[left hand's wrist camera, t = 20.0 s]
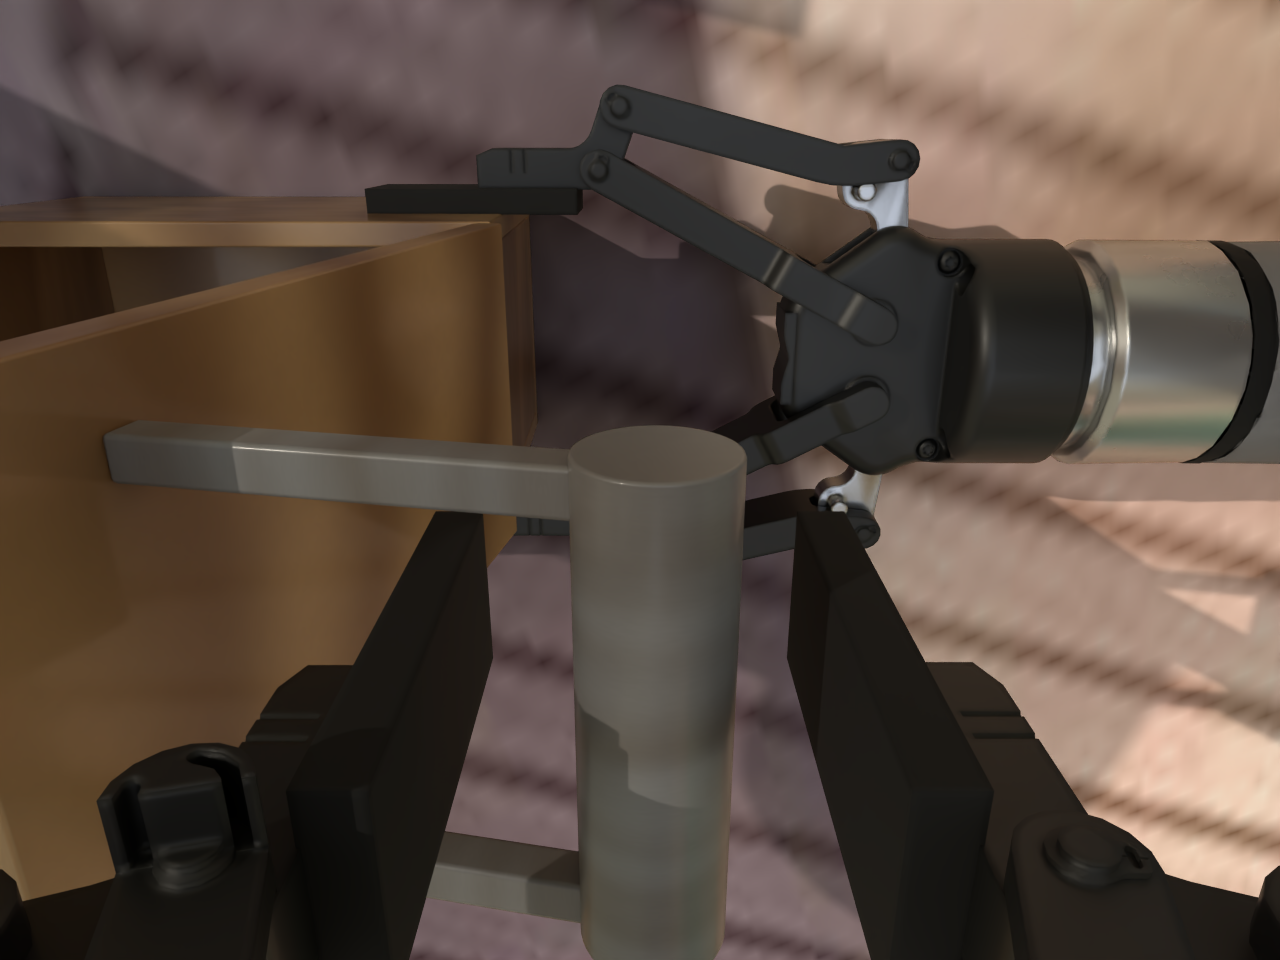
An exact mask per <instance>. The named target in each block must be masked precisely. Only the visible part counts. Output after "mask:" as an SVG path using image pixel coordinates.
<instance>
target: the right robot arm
mask: <svg viewBox="0 0 1280 960" xmlns="http://www.w3.org/2000/svg"><path fill="white" fill-rule="evenodd" d="M633 133H637V134H641V135H645V136H648V137H652V138H656V139H659V140H663V141H667V142H670V143H674V144H678V145H682V146H685V147H689V148H693V149H696V150H700V151H704V152H708V153H711V154H715V155H719V156H722V157H726V158H730V159H733V160H737V161H741V162H745V163H748V164H752V165H756V166H759V167H763V168H767V169H770V170H774V171H778V172H782V173H785V174H789V175H793V176H796V177H800V178H804V179H808V180H811V181H815V182H819V183H824V184H829V185H837V192H838V197H839V199H840V201H841V202H842V203H843V204H844V205H846V206H848V207H850V208H853V209H857V210H862V211H864V212H865V213H866V214H867V215H868V217H869V219H870V223H871V228H869V229H868V230H866V231H865V232H863V233H862V234H860V235H859V236H857V237H856V238H855V239H853V240H852V241H850V242H849V243H848V244H846V245H845V246H843V247H842V248H840V249H839V250H838V251H836V252H835V253H833V254H832V255H830V256H829V257H828V258H826V259H825V260H823V261H822V262H820V263H819V264H818V265H816V264H814V263H812V262H810V261H809V260H807V259H805V258H803V257H801V256H800V255H798V254H796V253H794V252H792V251H791V250H789V249H787V248H785V247H784V246H782V245H780V244H778V243H776V242H774V241H772V240H770V239H768V238H766V237H765V236H763V235H761V234H759V233H757V232H756V231H754V230H752V229H750V228H749V227H747V226H745V225H743V224H741V223H740V222H738V221H736V220H734V219H732V218H731V217H729V216H727V215H725V214H723V213H722V212H720V211H718V210H716V209H715V208H713V207H711V206H709V205H707V204H706V203H704V202H702V201H700V200H698V199H697V198H695V197H693V196H691V195H690V194H688V193H686V192H684V191H682V190H681V189H679V188H677V187H675V186H673V185H672V184H670V183H668V182H666V181H664V180H663V179H661V178H659V177H657V176H656V175H654V174H652V173H650V172H648V171H647V170H645V169H643V168H641V167H639V166H638V165H636V164H634V163H632V162H630V161H629V160H627V159H625V155H626V152H627V149H628V146H629V143H630V140H631V137H632V134H633ZM476 159H477V175H478V184H387V185H382V186H377V187H372V188H367V189H365V196H366V206H367V214H501V215H577V214H578V213H579V212H580V211H581V210H582V208H583V190H594V191H595V192H597V193H599V194H601V195H603V196H604V197H606V198H608V199H610V200H612V201H614V202H615V203H617V204H619V205H621V206H623V207H624V208H626V209H628V210H630V211H632V212H634V213H635V214H637V215H639V216H641V217H643V218H645V219H646V220H648V221H650V222H652V223H654V224H655V225H657V226H659V227H661V228H663V229H665V230H666V231H668V232H670V233H672V234H674V235H675V236H677V237H679V238H681V239H683V240H685V241H686V242H688V243H690V244H692V245H694V246H696V247H697V248H699V249H701V250H703V251H705V252H706V253H708V254H710V255H712V256H714V257H716V258H717V259H719V260H721V261H723V262H725V263H726V264H728V265H730V266H732V267H734V268H736V269H737V270H739V271H741V272H743V273H745V274H747V275H748V276H750V277H752V278H754V279H756V280H757V281H759V282H761V283H763V284H764V285H766V286H767V287H769V288H770V289H772V290H773V291H775V292H777V293H779V294H780V295H782V296H783V297H782V300H781V302H777V310H776V327H777V332H778V337H779V341H780V350H779V353H778V356H777V359H776V362H775V365H774V368H773V385H772V389H773V391H774V393H775V396H773V397H771V398H769V399H767V400H765V401H763V402H761V403H759V404H757V405H756V406H754V407H753V408H752V409H751V410H750V411H749V412H748V413H747V414H746V415H744V416H742V417H740V418H738V419H736V420H734V421H732V422H730V423H728V424H726V425H724V426H722V427H720V428H718V429H716V430H714V431H712V433H716V434H719V435H722V436H725V437H727V438H729V439H731V440H733V441H735V442H736V443H738V444H739V445H740V446H741V447H742V448H743V449H744V450H745V453H746V456H747V472H746V475H748V474H750V473H752V472H754V471H756V470H758V469H760V468H762V467H764V466H767V465H770V464H782V463H785V462H787V461H789V460H791V459H794V458H796V457H798V456H800V455H802V454H804V453H806V452H808V451H810V450H812V449H814V448H816V447H818V446H821V445H822V446H823V447H824V448H826V449H827V450H829V451H830V452H831V453H833V454H834V455H836V456H837V457H838V458H840V459H841V460H842V461H844V462H845V463H847V464H848V465H849V466H848V468H847V469H846V471H845V472H843V473H842V474H841V475H839V476H836V477H830V478H826V479H823V480H822V481H820V482H819V483H818V485H817V486H816V488H815V489H801V490H792V491H787V492H782V493H777V494H773V495H769V496H764V497H760V498H755V499H751V500H747V501H745V514H744V535H743V556H742V560H746V559H750V558H755V557H759V556H764V555H768V554H773V553H777V552H782V551H786V550H791V549H794V548H795V534H796V519H797V511H844V512H845V513H846V515H847V517H848V519H849V521H850V523H851V525H852V526H853V528H854V530H855V532H856V534H857V536H858V538H859V539H860V541H861V543H862V545H863V547H864V548H869V547H871V546H873V545H874V544H875V543H876V542H877V541H878V539H879V537H880V527H879V525H878V523H877V522H876V520H875V518H874V510H875V506H876V501H877V496H878V492H879V487H880V482H881V478H882V474H885V473H888V472H891V471H892V470H894V469H896V468H898V467H901V466H903V465H906V464H909V463H913V462H938V463H1037V462H1040V461H1043V460H1045V459H1046V458H1047V457H1049V456H1050V455H1051V456H1052V457H1053V458H1054V459H1055V460H1057V461H1059V462H1063V463H1067V464H1091V463H1164V462H1179V463H1202V462H1204V463H1260V464H1280V241H1263V242H1224V241H1203V240H1196V241H1178V240H1077V241H1075V242H1072V243H1070V244H1068V245H1066V246H1065V247H1063V246H1062V245H1060V244H1059V243H1058V242H1056V241H1053V240H1049V239H934V238H928V237H925V236H923V235H921V234H920V233H918V232H917V231H915V230H913V229H911V228H909V227H908V178H910V177H911V176H912V175H913V174H914V173H915V172H916V170H917V168H918V167H919V162H920V155H919V150H918V149H917V147H916V146H915V145H914V144H913V143H911V142H910V141H908V140H895V139H877V140H868V141H858V142H849V143H840V144H837V143H833V142H829V141H826V140H822V139H819V138H815V137H811V136H808V135H804V134H800V133H797V132H793V131H789V130H786V129H782V128H778V127H775V126H771V125H767V124H764V123H760V122H757V121H753V120H749V119H746V118H742V117H738V116H735V115H731V114H727V113H724V112H720V111H716V110H713V109H709V108H705V107H702V106H698V105H695V104H691V103H687V102H684V101H680V100H676V99H673V98H669V97H665V96H662V95H658V94H654V93H651V92H647V91H643V90H640V89H636V88H633V87H629V86H625V85H615V86H612V87H610V88H608V89H607V90H606V91H605V92H604V93H603V95H602V98H601V100H600V105H599V108H598V111H597V114H596V118H595V121H594V124H593V127H592V130H591V132H590V134H589V137H588V138H587V139H586V140H585V142H583V143H582V144H581V145H579V146H577V147H574V148H493V149H490V150H488V151H485V152H483V153H481V154H478V155H476ZM516 523H517V531H516V532H515V534H514V535H570V528H569V521H564V520H552V519H540V518H528V517H516Z"/></svg>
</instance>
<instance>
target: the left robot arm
mask: <svg viewBox="0 0 1280 960" xmlns="http://www.w3.org/2000/svg"><path fill="white" fill-rule="evenodd" d="M492 660H493V651H492V636H491V622H490V607H489V592H488V578H487V563H486V548H485V534H484V519H483V514H480V513H468V512H456V511H436V512H435V513H434V515H433V517H432V519H431V521H430V523H429V525H428V526H427V528H426V530H425V532H424V534H423V536H422V538H421V539H420V541H419V543H418V545H417V547H416V549H415V551H414V553H413V554H412V556H411V558H410V560H409V562H408V564H407V566H406V567H405V569H404V571H403V573H402V575H401V577H400V579H399V580H398V582H397V584H396V586H395V588H394V590H393V592H392V594H391V595H390V597H389V599H388V601H387V603H386V605H385V607H384V608H383V610H382V612H381V614H380V616H379V618H378V620H377V621H376V623H375V625H374V627H373V629H372V631H371V633H370V635H369V636H368V638H367V640H366V642H365V644H364V646H363V648H362V649H361V651H360V653H359V655H358V657H357V659H356V661H355V662H354V664H353V665H307V666H306V667H305V668H303V669H302V670H301V671H299V672H298V673H297V674H295V675H294V676H292V677H291V678H290V679H288V680H287V681H286V682H284V683H283V684H282V685H280V686H279V687H278V688H277V689H276V691H275V692H274V694H273V695H272V697H271V698H270V700H269V701H268V703H267V704H266V706H265V707H264V709H263V710H262V712H261V714H260V719H259V720H256V721H255V723H254V724H253V726H252V727H251V729H250V730H249V732H248V734H247V735H246V741H245V742H242V743H241V744H240V746H239V747H234V746H230V745H227V744H223V743H192V744H188V745H184V746H180V747H176V748H172V749H168V750H164V751H161V752H159V753H157V754H154V755H152V756H150V757H148V758H146V759H144V760H141V761H139V762H137V763H135V764H133V765H132V766H130V767H129V768H128V769H126V770H125V771H124V772H123V773H121V774H120V775H119V776H117V777H116V778H115V779H113V780H112V781H111V782H110V783H109V784H108V786H107V787H106V788H105V790H104V791H103V793H102V794H101V795H100V797H99V798H98V799H97V801H96V802H97V806H98V809H99V813H100V817H101V820H102V824H103V828H104V832H105V835H106V839H107V843H108V846H109V850H110V854H111V857H112V861H113V865H114V868H115V872H116V874H115V877H114V878H112V879H109V880H106V881H102V882H99V883H96V884H93V885H89V886H85V887H81V888H77V889H72V890H68V891H64V892H60V893H55V894H51V895H47V896H43V897H38V898H34V899H30V900H26V901H22V898H21V895H20V892H19V889H18V886H17V882H16V881H15V880H14V879H13V878H12V877H11V876H9V875H8V874H7V873H6V872H5V871H4V870H2V869H0V960H409V957H410V954H411V950H412V947H413V943H414V940H415V936H416V932H417V929H418V925H419V922H420V918H421V914H422V911H423V907H424V904H425V900H426V896H427V893H428V889H429V886H430V882H431V879H432V875H433V871H434V868H435V864H436V861H437V857H438V853H439V850H440V846H441V843H442V839H443V835H444V832H445V828H446V825H447V821H448V818H449V814H450V810H451V807H452V803H453V800H454V796H455V792H456V789H457V785H458V782H459V778H460V774H461V771H462V767H463V764H464V760H465V757H466V753H467V749H468V746H469V742H470V739H471V735H472V731H473V728H474V724H475V721H476V717H477V713H478V710H479V706H480V703H481V699H482V696H483V692H484V688H485V685H486V681H487V678H488V674H489V670H490V667H491V663H492ZM787 660H788V663H789V667H790V670H791V674H792V678H793V681H794V685H795V688H796V692H797V696H798V699H799V703H800V706H801V710H802V713H803V717H804V721H805V724H806V728H807V731H808V735H809V739H810V742H811V746H812V749H813V753H814V757H815V760H816V764H817V767H818V771H819V774H820V778H821V782H822V785H823V789H824V792H825V796H826V800H827V803H828V807H829V810H830V814H831V818H832V821H833V825H834V828H835V832H836V835H837V839H838V843H839V846H840V850H841V853H842V857H843V861H844V864H845V868H846V871H847V875H848V879H849V882H850V886H851V889H852V893H853V896H854V900H855V904H856V907H857V911H858V914H859V918H860V922H861V925H862V929H863V932H864V936H865V940H866V943H867V947H868V950H869V954H870V957H871V960H1280V866H1278V867H1277V868H1276V869H1274V870H1273V871H1272V872H1271V873H1270V874H1269V875H1267V876H1266V877H1265V879H1264V882H1263V886H1262V889H1261V892H1260V895H1259V898H1258V897H1253V896H1249V895H1245V894H1241V893H1236V892H1232V891H1228V890H1224V889H1219V888H1215V887H1211V886H1206V885H1202V884H1198V883H1194V882H1190V881H1186V880H1183V879H1180V878H1177V877H1173V876H1170V875H1167V874H1165V873H1164V871H1163V869H1162V868H1161V866H1160V865H1159V863H1158V861H1157V860H1156V858H1155V857H1154V855H1153V853H1152V852H1151V851H1150V850H1149V849H1148V848H1147V847H1145V846H1144V845H1143V844H1142V843H1141V842H1139V841H1138V840H1137V839H1136V838H1135V837H1134V836H1132V835H1131V834H1130V833H1129V832H1127V831H1125V830H1123V829H1121V828H1119V827H1117V826H1115V825H1113V824H1111V823H1109V822H1108V821H1106V820H1104V819H1101V818H1098V817H1094V816H1091V815H1088V814H1087V812H1086V811H1085V809H1084V808H1083V806H1082V805H1081V803H1080V801H1079V800H1078V798H1077V797H1076V795H1075V794H1074V792H1073V791H1072V789H1071V788H1070V786H1069V785H1068V783H1067V782H1066V780H1065V779H1064V777H1063V776H1062V774H1061V772H1060V771H1059V769H1058V768H1057V766H1056V765H1055V763H1054V762H1053V760H1052V759H1051V757H1050V756H1049V754H1048V753H1047V751H1046V750H1045V748H1044V747H1043V745H1042V743H1041V742H1040V740H1039V739H1035V733H1034V731H1033V730H1032V728H1031V727H1030V725H1029V724H1028V722H1027V721H1026V719H1025V717H1021V714H1020V710H1019V708H1018V707H1017V705H1016V704H1015V702H1014V701H1013V699H1012V698H1011V696H1010V695H1009V693H1008V692H1007V690H1006V688H1005V687H1004V685H1003V684H1001V683H1000V682H998V681H997V680H996V679H994V678H993V677H992V676H990V675H989V674H988V673H986V672H985V671H984V670H982V669H981V668H980V667H978V666H977V665H975V664H974V663H973V662H925V661H924V659H923V657H922V655H921V653H920V651H919V649H918V648H917V646H916V644H915V642H914V640H913V638H912V636H911V635H910V633H909V631H908V629H907V627H906V625H905V623H904V621H903V620H902V618H901V616H900V614H899V612H898V610H897V608H896V607H895V605H894V603H893V601H892V599H891V597H890V595H889V594H888V592H887V590H886V588H885V586H884V584H883V582H882V580H881V579H880V577H879V575H878V573H877V571H876V569H875V567H874V566H873V564H872V562H871V560H870V558H869V556H868V554H867V553H866V551H865V549H864V547H863V545H862V543H861V541H860V539H859V538H858V536H857V534H856V532H855V530H854V528H853V526H852V525H851V523H850V521H849V519H848V517H847V515H846V513H845V512H844V511H797V519H796V534H795V548H794V563H793V578H792V592H791V607H790V622H789V636H788V651H787Z"/></svg>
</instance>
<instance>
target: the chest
mask: <svg viewBox="0 0 1280 960" xmlns="http://www.w3.org/2000/svg"><path fill="white" fill-rule="evenodd" d="M474 223H499V224H501V230H502V249H503V269H504V288H505V308H506V328H507V347H508V367H509V386H510V406H511V425H512V445H513V446H526V447H530V446H531V443H532V439H533V436H534V433H535V430H536V426H537V423H538V421H537V396H536V372H535V347H534V322H533V297H532V272H531V247H530V222H529V215H501V214H367V206H366V197H126V196H84V197H76V198H66V199H58V200H49V201H40V202H32V203H23V204H15V205H6V206H0V341H4V340H8V339H12V338H16V337H20V336H24V335H28V334H32V333H36V332H40V331H45V330H49V329H53V328H57V327H61V326H65V325H69V324H73V323H77V322H81V321H85V320H89V319H93V318H97V317H101V316H105V315H109V314H113V313H117V312H121V311H125V310H129V309H133V308H137V307H141V306H145V305H149V304H153V303H157V302H161V301H165V300H169V299H173V298H177V297H181V296H185V295H189V294H193V293H197V292H201V291H205V290H209V289H213V288H217V287H221V286H225V285H229V284H233V283H237V282H241V281H245V280H249V279H253V278H257V277H261V276H265V275H269V274H273V273H277V272H281V271H285V270H289V269H293V268H297V267H301V266H305V265H309V264H313V263H317V262H321V261H325V260H329V259H333V258H337V257H341V256H345V255H349V254H353V253H357V252H362V251H366V250H370V249H374V248H378V247H382V246H386V245H390V244H394V243H398V242H402V241H406V240H410V239H414V238H418V237H422V236H426V235H430V234H434V233H438V232H442V231H446V230H450V229H454V228H458V227H462V226H466V225H470V224H474Z"/></svg>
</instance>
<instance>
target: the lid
mask: <svg viewBox="0 0 1280 960" xmlns="http://www.w3.org/2000/svg"><path fill="white" fill-rule="evenodd" d="M746 472H747V456H746V453H745V450H744V449H743V448H742V447H741V446H740V445H739V444H738V443H736V442H735V441H733V440H731V439H729V438H727V437H725V436H722V435H719V434H716V433H712V432H709V431H705V430H700V429H694V428H688V427H679V426H663V425H648V426H631V427H623V428H617V429H611V430H607V431H603V432H599V433H596V434H593V435H590V436H587V437H585V438H583V439H581V440H580V441H578V442H576V443H575V444H574V445H573V446H572V447H571V449H570V450H569V449H555V448H540V447H526V446H513V445H512V425H511V406H510V386H509V367H508V347H507V328H506V308H505V288H504V269H503V249H502V230H501V224H499V223H474V224H470V225H466V226H462V227H458V228H454V229H450V230H446V231H442V232H438V233H434V234H430V235H426V236H422V237H418V238H414V239H410V240H406V241H402V242H398V243H394V244H390V245H386V246H382V247H378V248H374V249H370V250H366V251H362V252H357V253H353V254H349V255H345V256H341V257H337V258H333V259H329V260H325V261H321V262H317V263H313V264H309V265H305V266H301V267H297V268H293V269H289V270H285V271H281V272H277V273H273V274H269V275H265V276H261V277H257V278H253V279H249V280H245V281H241V282H237V283H233V284H229V285H225V286H221V287H217V288H213V289H209V290H205V291H201V292H197V293H193V294H189V295H185V296H181V297H177V298H173V299H169V300H165V301H161V302H157V303H153V304H149V305H145V306H141V307H137V308H133V309H129V310H125V311H121V312H117V313H113V314H109V315H105V316H101V317H97V318H93V319H89V320H85V321H81V322H77V323H73V324H69V325H65V326H61V327H57V328H53V329H49V330H45V331H40V332H36V333H32V334H28V335H24V336H20V337H16V338H12V339H8V340H4V341H0V869H2V870H4V871H5V872H6V873H7V874H8V875H9V876H11V877H12V878H13V879H14V880H15V881H16V882H17V886H18V889H19V892H20V895H21V898H22V901H26V900H30V899H34V898H38V897H43V896H47V895H51V894H55V893H60V892H64V891H68V890H72V889H77V888H81V887H85V886H89V885H93V884H96V883H99V882H102V881H106V880H109V879H112V878H114V877H115V874H116V872H115V868H114V865H113V861H112V857H111V854H110V850H109V846H108V843H107V839H106V835H105V832H104V828H103V824H102V820H101V817H100V813H99V809H98V806H97V802H96V801H97V799H98V798H99V797H100V795H101V794H102V793H103V791H104V790H105V788H106V787H107V786H108V784H109V783H110V782H111V781H112V780H113V779H115V778H116V777H117V776H119V775H120V774H121V773H123V772H124V771H125V770H126V769H128V768H129V767H130V766H132V765H133V764H135V763H137V762H139V761H141V760H144V759H146V758H148V757H150V756H152V755H154V754H157V753H159V752H161V751H164V750H168V749H172V748H176V747H180V746H184V745H188V744H192V743H223V744H227V745H230V746H234V747H239V746H240V744H241V743H242V742H245V741H246V735H247V734H248V732H249V730H250V729H251V727H252V726H253V724H254V723H255V721H256V720H259V719H260V714H261V712H262V710H263V709H264V707H265V706H266V704H267V703H268V701H269V700H270V698H271V697H272V695H273V694H274V692H275V691H276V689H277V688H278V687H279V686H280V685H282V684H283V683H284V682H286V681H287V680H288V679H290V678H291V677H292V676H294V675H295V674H297V673H298V672H299V671H301V670H302V669H303V668H305V667H306V666H307V665H353V664H354V662H355V661H356V659H357V657H358V655H359V653H360V651H361V649H362V648H363V646H364V644H365V642H366V640H367V638H368V636H369V635H370V633H371V631H372V629H373V627H374V625H375V623H376V621H377V620H378V618H379V616H380V614H381V612H382V610H383V608H384V607H385V605H386V603H387V601H388V599H389V597H390V595H391V594H392V592H393V590H394V588H395V586H396V584H397V582H398V580H399V579H400V577H401V575H402V573H403V571H404V569H405V567H406V566H407V564H408V562H409V560H410V558H411V556H412V554H413V553H414V551H415V549H416V547H417V545H418V543H419V541H420V539H421V538H422V536H423V534H424V532H425V530H426V528H427V526H428V525H429V523H430V521H431V519H432V517H433V515H434V513H435V512H436V511H456V512H468V513H480V514H483V519H484V534H485V548H486V563H487V568H488V566H489V565H490V564H491V562H492V561H493V560H494V559H495V557H496V556H497V555H498V554H499V552H500V551H501V550H502V549H503V547H504V546H505V545H506V544H507V542H508V541H509V540H510V539H511V537H512V536H513V535H514V534H515V532H516V531H517V523H516V517H528V518H540V519H552V520H564V521H569V528H570V563H571V599H572V634H573V670H574V705H575V741H576V776H577V811H578V847H579V852H578V851H571V850H565V849H558V848H552V847H545V846H539V845H532V844H525V843H519V842H512V841H506V840H499V839H493V838H486V837H479V836H473V835H466V834H460V833H453V832H447V831H445V832H444V835H443V839H442V843H441V846H440V850H439V853H438V857H437V861H436V864H435V868H434V871H433V875H432V879H431V882H430V886H429V889H428V893H427V896H426V897H427V898H433V899H439V900H445V901H451V902H457V903H463V904H469V905H475V906H481V907H487V908H493V909H499V910H505V911H511V912H517V913H523V914H529V915H535V916H541V917H547V918H553V919H559V920H565V921H571V922H577V923H581V934H582V938H583V942H584V944H585V947H586V949H587V951H588V952H589V954H590V955H591V957H592V958H593V960H713V959H714V958H715V957H716V955H717V953H718V952H719V950H720V948H721V945H722V943H723V939H724V934H725V915H726V894H727V873H728V851H729V830H730V809H731V788H732V767H733V746H734V725H735V704H736V683H737V662H738V641H739V619H740V598H741V577H742V556H743V535H744V514H745V493H746Z"/></svg>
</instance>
